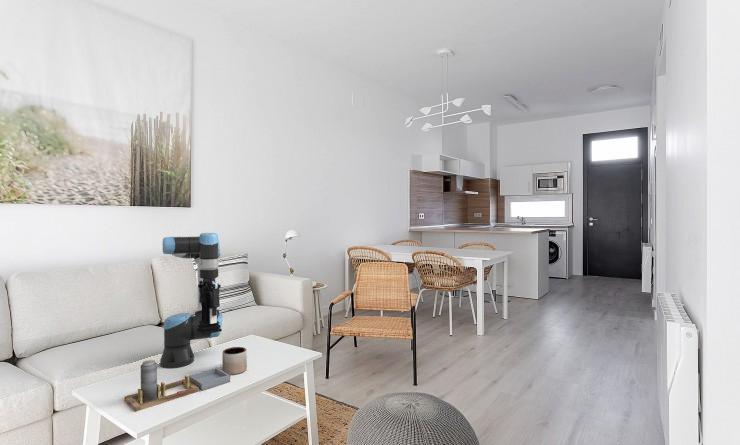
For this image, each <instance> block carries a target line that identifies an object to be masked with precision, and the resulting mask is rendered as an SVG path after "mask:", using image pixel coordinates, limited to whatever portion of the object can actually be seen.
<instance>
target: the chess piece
mask: <svg viewBox="0 0 740 445" xmlns="http://www.w3.org/2000/svg"><path fill="white" fill-rule="evenodd" d="M221 286H222V285H221V284H219V289H221V288H222V287H221ZM198 288H199V292H201V293H202V297H200V299H201V300H202V321H199V323H200V325H198V327H199V328H197V331H198V332H200V333H201V334H209V333H214V332H220V331H221V332H222V331H223V330H222V326H220V325H219V321H217V323H213V324H210V307H211V305H210V298H209V292H212V288H211V289H207V286H203V284H198V283H197V289H198ZM220 327H221V329H220ZM221 332H220V333H221Z"/></svg>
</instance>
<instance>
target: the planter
mask: <svg viewBox="0 0 740 445" xmlns="http://www.w3.org/2000/svg"><path fill="white" fill-rule="evenodd" d="M247 350H248V349H247V348H246V347H242V346H233V347H228V348H226V349H223V350H222V357H221V359H222V361H221V362H222V365H221V367H222V368H221V370H222V371H224V372H225V373H227V374H229V375H230V376H234V375H235V376H236V375H240V374H243V373H244V372H245V371H247V368H248V362H247V361H248V360H247V358H248V355H247V353H248V352H247Z"/></svg>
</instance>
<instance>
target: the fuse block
mask: <svg viewBox="0 0 740 445" xmlns="http://www.w3.org/2000/svg"><path fill="white" fill-rule="evenodd" d="M180 386H184V389H182V390H181V389H180V390H179V391H176V392H175V393H172V394H168V395H166V392H167V390H170V389H173V388H177V387H180ZM199 391H200V390H199V388H198V387H197V386H195V385H194V384H192V383H191V382H189V375H184V379H180V380H178V381H174V382H170V383H167V384H166V383H164V382H163V381H161V382H160V384H158V363H157V362H156V360H153V359H149V360H144V361H143V362H142V364H141V365H140V388H137V392H135V393H132V394H128V395H126V396H123V398H124V400H123V401H124V402H125V403H126V404H127V405H128V406H129V407H130V408H131V409H132V410H133V411H134V412H139V411H142V410H145V409H149V408H151V407H153V406H158V405H161V404H164V403H167V402H170V401H174V400H176V399H179V398H182V397H185V396H189V395H191V394H195V393H197V392H199ZM161 396H162V397H161ZM136 400H137V401H136Z"/></svg>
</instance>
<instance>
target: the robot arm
mask: <svg viewBox="0 0 740 445" xmlns="http://www.w3.org/2000/svg"><path fill="white" fill-rule="evenodd" d="M220 247H221V246H220V241H219V234H218V233H217V232H202V233H200V234H199V236H166V237H163V239H162V253H163V254H164V255H172V256H174V257H175V258H180V259H193V261H194V263H195V264H197V285H198V284H203V286H207V289H211V288H212V292H209V298H210V305H211V307H210V324H213V323H217V321H219V325H220V326H221V327H220V329H222V326H223V325H222V324H223V313H221V312H220V309H219V307H220V305H221V304H220V288H219V285H220V283H216V279H217V278H218V277H219V269H218V268H219V258H221V248H220ZM200 297H202V293H201V292H199V288H198V287H197V309H196V310H195V311H194V315H191V314H190V313H189V312H180V313H177V314H173V315H170V316H167V317H166V318H165V319H164V322H163V323H164V324H163V341H164V342H163V351H162V354H161V357H160V360H159V362H160V363H159V364H160V367H162V368H166V369H175V368H181V367H185V366H188V365H190V364H192V363H194V361H195V354H194V351H193V349H192V347H191V341H192V340H193V341H194V340H203V339H204V340H205V339H212V338H213V339H214V338H217V337H219V336H220V335H221V332H222V331H220V332H214V333H209V334H201V333H200V332H198V331H197V328H199V327H198V325H200V323H199V321H202V300H201V299H200Z"/></svg>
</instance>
